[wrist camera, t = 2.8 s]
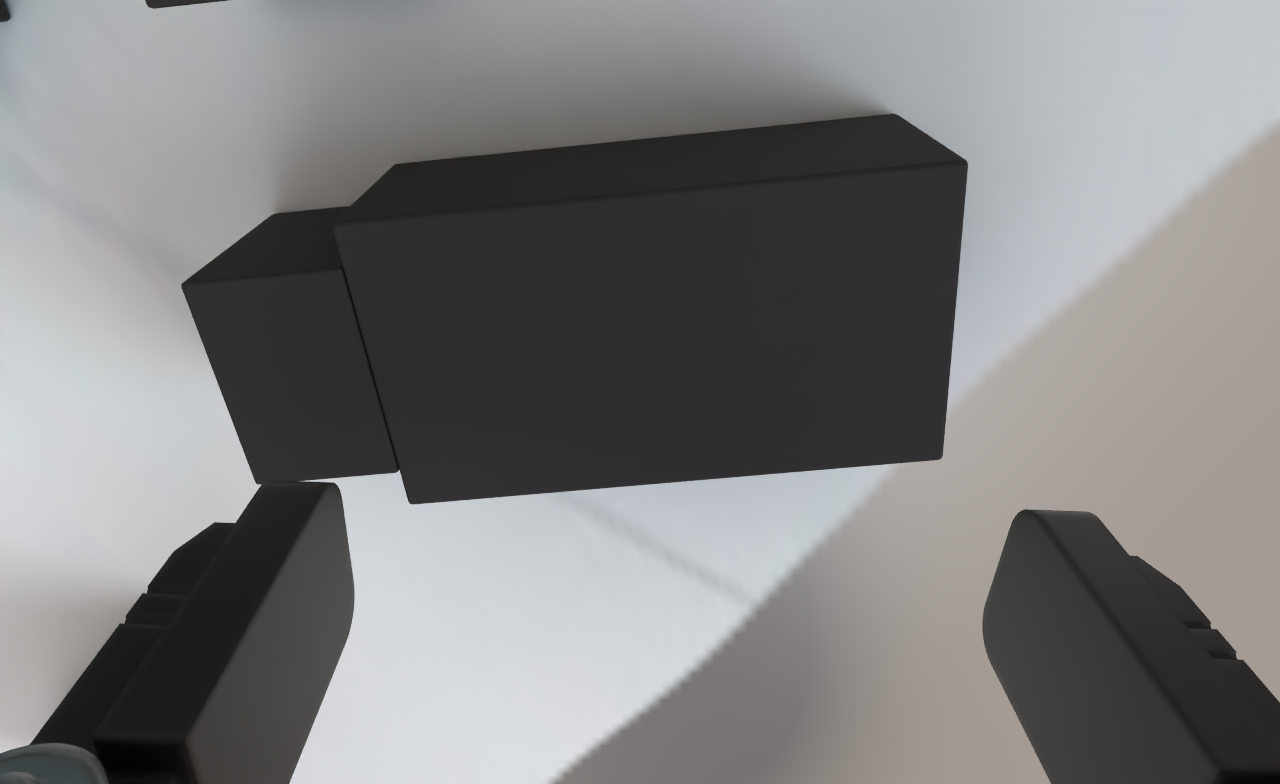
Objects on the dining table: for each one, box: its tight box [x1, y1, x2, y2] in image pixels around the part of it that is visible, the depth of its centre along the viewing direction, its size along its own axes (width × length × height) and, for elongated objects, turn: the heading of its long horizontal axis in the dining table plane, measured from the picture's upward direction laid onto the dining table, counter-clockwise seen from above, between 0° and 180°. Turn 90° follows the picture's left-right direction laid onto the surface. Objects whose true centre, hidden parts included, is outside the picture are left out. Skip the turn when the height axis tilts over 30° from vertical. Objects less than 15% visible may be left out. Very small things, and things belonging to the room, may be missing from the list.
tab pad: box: [182, 114, 968, 504], centre depth 16 cm, size 6×13×4 cm, turn 96°
